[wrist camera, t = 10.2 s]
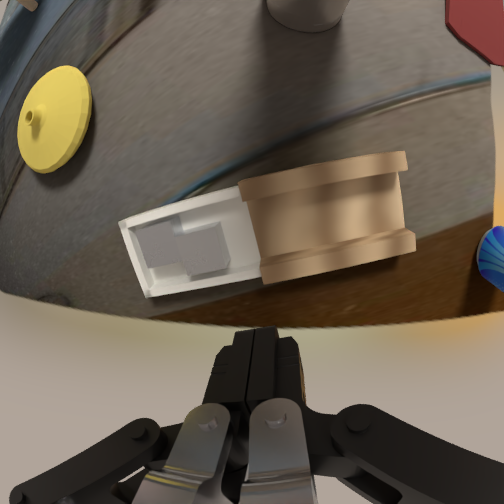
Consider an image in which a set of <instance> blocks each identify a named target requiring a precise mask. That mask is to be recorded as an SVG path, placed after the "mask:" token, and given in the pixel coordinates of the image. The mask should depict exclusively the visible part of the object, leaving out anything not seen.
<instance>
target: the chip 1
mask: <svg viewBox="0 0 504 504" xmlns="http://www.w3.org/2000/svg"><path fill="white" fill-rule="evenodd" d="M182 231H183V227H182V224H181V221H180V217H179V216H176V217H173V218H169V219H166V220H163V221H159V222H156V223H152V224H149V225H146V226H144V227H142V228H141V229H139V230H137V231H135V233H136V236H137V239H138V242H139V245H140V248H141V251H142V254H143V257H144V259H145V262H146V265H147V268H148V269H150V268H154V267H159V266H163V265H168V264H172V263H177V262H181V261H182V258H181V255H180V252H179V249H178V246H177V243H176V240H175V237H176V236H177V235H178V234H179V233H181V232H182Z"/></svg>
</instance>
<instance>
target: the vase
mask: <svg viewBox="0 0 504 504" xmlns="http://www.w3.org/2000/svg"><path fill="white" fill-rule="evenodd" d="M91 107H92V96H91V88H90V86H89V83H88V81H87V79H86V77H85V76H84V75H83V74H82V73H81V72H80V71H79V70H78V69H77V68H75V67H72V66H60V67H57V68H55V69H53V70H51V71H49V72H48V73H47V74H45V75H44V76H43V77H42V78H41V79H39V80H38V82H37V83H36V84H35V85H34V86H33V88H32V89H31V91H30V92H29V94H28V96H27V98H26V99H25V102H24V104H23V107H22V110H21V113H20V118H19V122H18V144H19V149H20V152H21V155H22V157H23V158H24V160H25V162H26V163H27V165H28V166H29V167H30V168H32V169H33V170H34V171H35V172H39V173H43V174H44V173H49V172H53V171H54V170H56V169H58V168H59V167H61V166H62V165H64V164H66V163H67V161H68V160H69V159H70V158H71V157H72V156H73V155H74V154H75V152H76V151H77V149H78V148H79V146H80V144H81V143H82V140H83V138H84V136H85V133H86V131H87V128H88V124H89V120H90V116H91Z"/></svg>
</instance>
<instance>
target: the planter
mask: <svg viewBox="0 0 504 504" xmlns="http://www.w3.org/2000/svg"><path fill="white" fill-rule="evenodd" d="M0 1H2V0H0ZM17 1H18V2H19V3H21V4H22V5H23V6H24V7H26V8H27V9H28V10H30V11H34V10H35V9H36V8H37V6H38V3H37V2H36V1H35V0H17Z"/></svg>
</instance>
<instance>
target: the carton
mask: <svg viewBox="0 0 504 504" xmlns="http://www.w3.org/2000/svg"><path fill="white" fill-rule="evenodd" d="M503 10H504V9H503V0H446V10H445V24H446V25H447V26H448V27H449V28H450V30H451V31H452V32H453V33H454V34H455V35H456V37H457V38H458V39H460V40H461V41H463V42H464V43H465V44H467V45H468V46H469V47H471V48H472V49H473V50H475V51H476V52H477V53H479V54H480V55H481V56H482V57H484V58H485V59H486V60H487V61H488V62H490V64H491V65H496V66H504V11H503Z"/></svg>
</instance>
